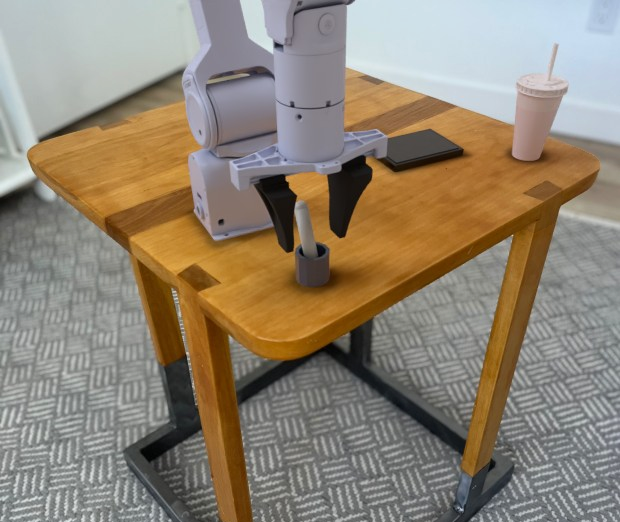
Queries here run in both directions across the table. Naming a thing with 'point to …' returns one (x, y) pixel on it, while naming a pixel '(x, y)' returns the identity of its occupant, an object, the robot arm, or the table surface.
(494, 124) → the table surface
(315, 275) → the pencil cup
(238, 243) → the table surface
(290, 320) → the table surface
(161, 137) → the table surface
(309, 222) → the stylus
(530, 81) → the smoothie
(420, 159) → the tablet
